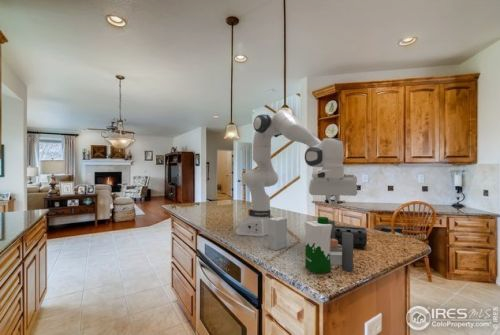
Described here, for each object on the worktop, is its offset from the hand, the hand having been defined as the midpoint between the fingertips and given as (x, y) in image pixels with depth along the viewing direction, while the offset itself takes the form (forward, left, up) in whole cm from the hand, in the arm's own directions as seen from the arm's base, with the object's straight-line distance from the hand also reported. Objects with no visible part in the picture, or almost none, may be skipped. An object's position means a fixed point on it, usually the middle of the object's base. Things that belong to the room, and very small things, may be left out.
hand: (332, 205), depth 103 cm
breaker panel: (0, +1, -23) cm, 23 cm away
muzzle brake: (+8, +20, -24) cm, 32 cm away
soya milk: (-9, -11, -23) cm, 28 cm away
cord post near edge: (+2, -11, -23) cm, 26 cm away
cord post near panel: (+2, +11, -23) cm, 26 cm away
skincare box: (-23, +13, -23) cm, 35 cm away
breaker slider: (0, 0, -19) cm, 19 cm away
